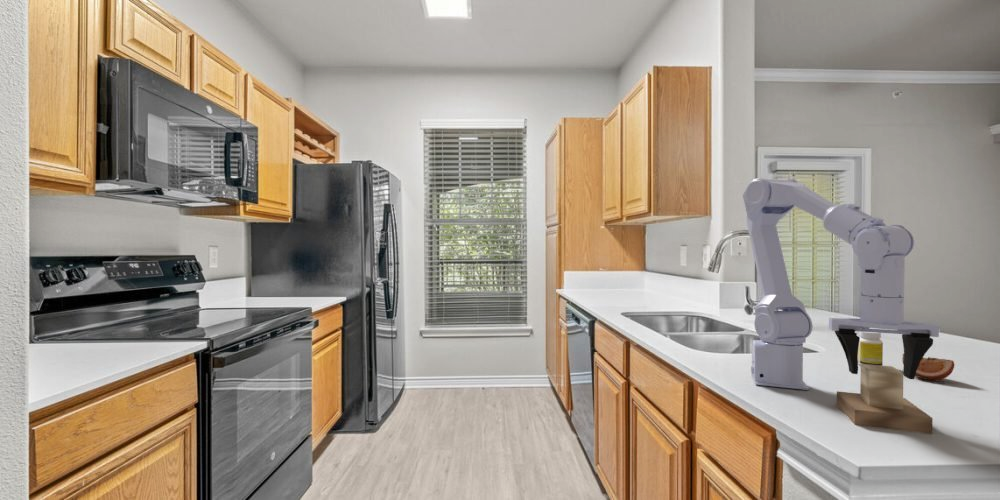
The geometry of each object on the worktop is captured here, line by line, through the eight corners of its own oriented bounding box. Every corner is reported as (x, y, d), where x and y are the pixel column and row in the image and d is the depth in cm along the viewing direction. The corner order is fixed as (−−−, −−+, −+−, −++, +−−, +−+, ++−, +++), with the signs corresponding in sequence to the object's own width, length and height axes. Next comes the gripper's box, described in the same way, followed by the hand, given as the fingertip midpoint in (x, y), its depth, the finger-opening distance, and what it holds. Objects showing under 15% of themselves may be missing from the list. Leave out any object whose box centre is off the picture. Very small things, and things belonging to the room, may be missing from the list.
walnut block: (854, 427, 76) (854, 409, 76) (836, 407, 85) (836, 391, 85) (932, 437, 72) (932, 418, 72) (904, 414, 81) (904, 398, 81)
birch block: (869, 405, 77) (869, 370, 77) (860, 397, 81) (860, 363, 81) (903, 409, 75) (903, 373, 75) (892, 400, 80) (892, 366, 79)
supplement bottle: (887, 369, 108) (887, 333, 108) (864, 368, 109) (864, 333, 109) (874, 363, 113) (875, 329, 113) (853, 362, 114) (853, 329, 114)
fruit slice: (897, 376, 102) (898, 354, 102) (908, 372, 106) (908, 350, 106) (949, 386, 95) (949, 362, 95) (958, 381, 99) (958, 358, 99)
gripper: (837, 296, 77) (836, 376, 77) (949, 300, 71) (947, 387, 72) (826, 292, 84) (825, 366, 84) (927, 295, 78) (926, 374, 78)
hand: (880, 375), depth 78 cm, fingers open, 7 cm apart
